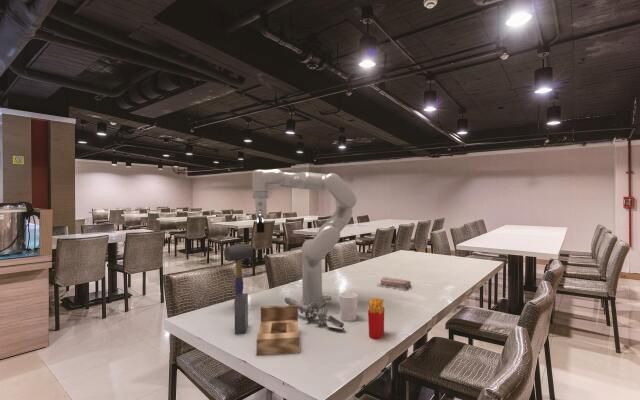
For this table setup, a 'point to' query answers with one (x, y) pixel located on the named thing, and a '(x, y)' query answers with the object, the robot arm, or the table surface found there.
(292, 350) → the wooden frame stool
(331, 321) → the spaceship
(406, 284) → the packaged product
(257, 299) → the table surface
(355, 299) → the white cup
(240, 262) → the rubber mallet
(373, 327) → the french fries
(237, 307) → the brushed grey post
